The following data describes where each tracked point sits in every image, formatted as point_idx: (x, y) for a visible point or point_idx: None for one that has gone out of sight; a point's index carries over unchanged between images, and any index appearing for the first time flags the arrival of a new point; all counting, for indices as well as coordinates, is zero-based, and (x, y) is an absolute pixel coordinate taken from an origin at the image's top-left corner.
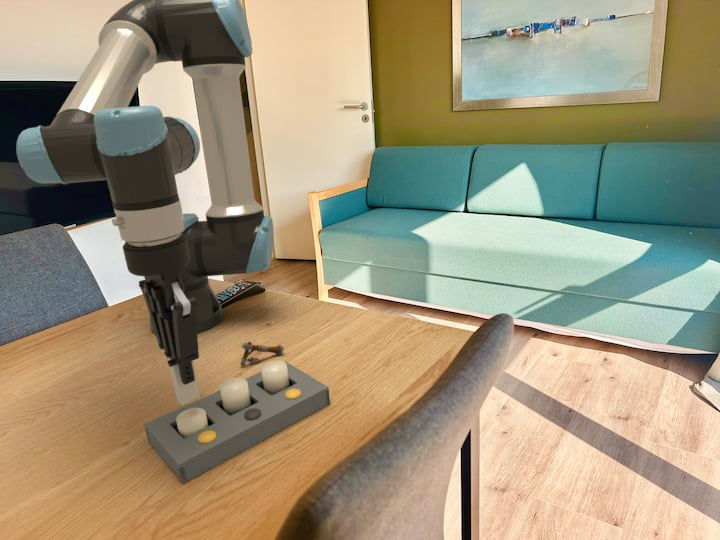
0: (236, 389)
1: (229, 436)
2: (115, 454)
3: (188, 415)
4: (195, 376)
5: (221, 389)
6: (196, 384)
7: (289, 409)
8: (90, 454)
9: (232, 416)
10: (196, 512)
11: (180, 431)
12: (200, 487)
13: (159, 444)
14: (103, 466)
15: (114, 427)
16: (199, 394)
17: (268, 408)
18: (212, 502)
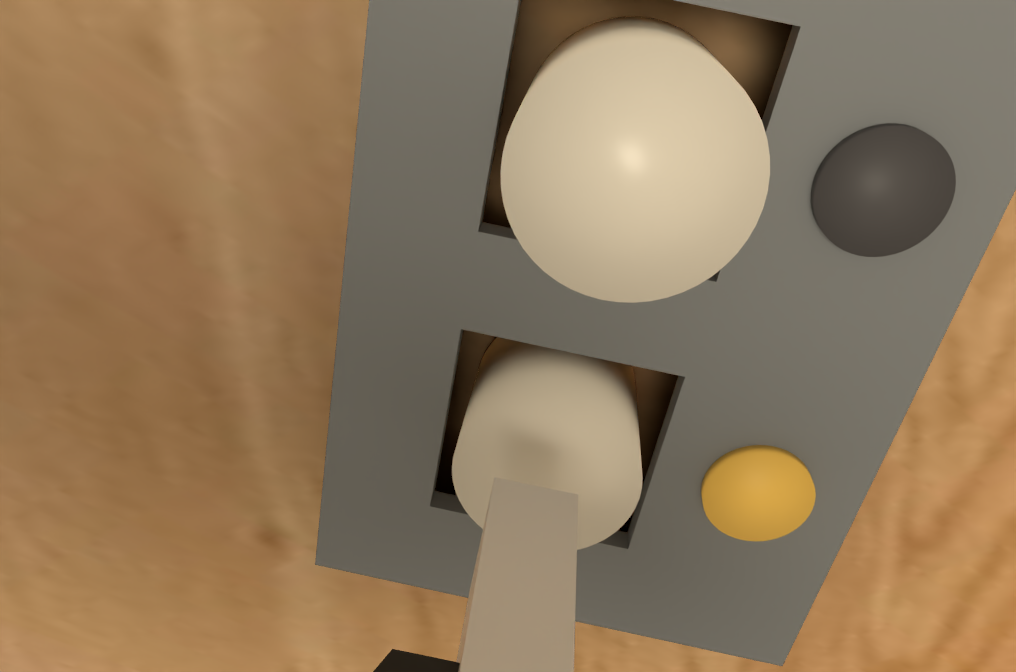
0: (717, 220)
1: (882, 426)
2: (313, 596)
3: (525, 481)
4: (573, 654)
5: (590, 290)
6: (573, 590)
7: None
8: (227, 635)
9: (740, 278)
10: (947, 643)
11: None
12: (854, 561)
13: None
14: (351, 650)
15: (98, 501)
16: (575, 509)
17: (952, 55)
18: (976, 589)
